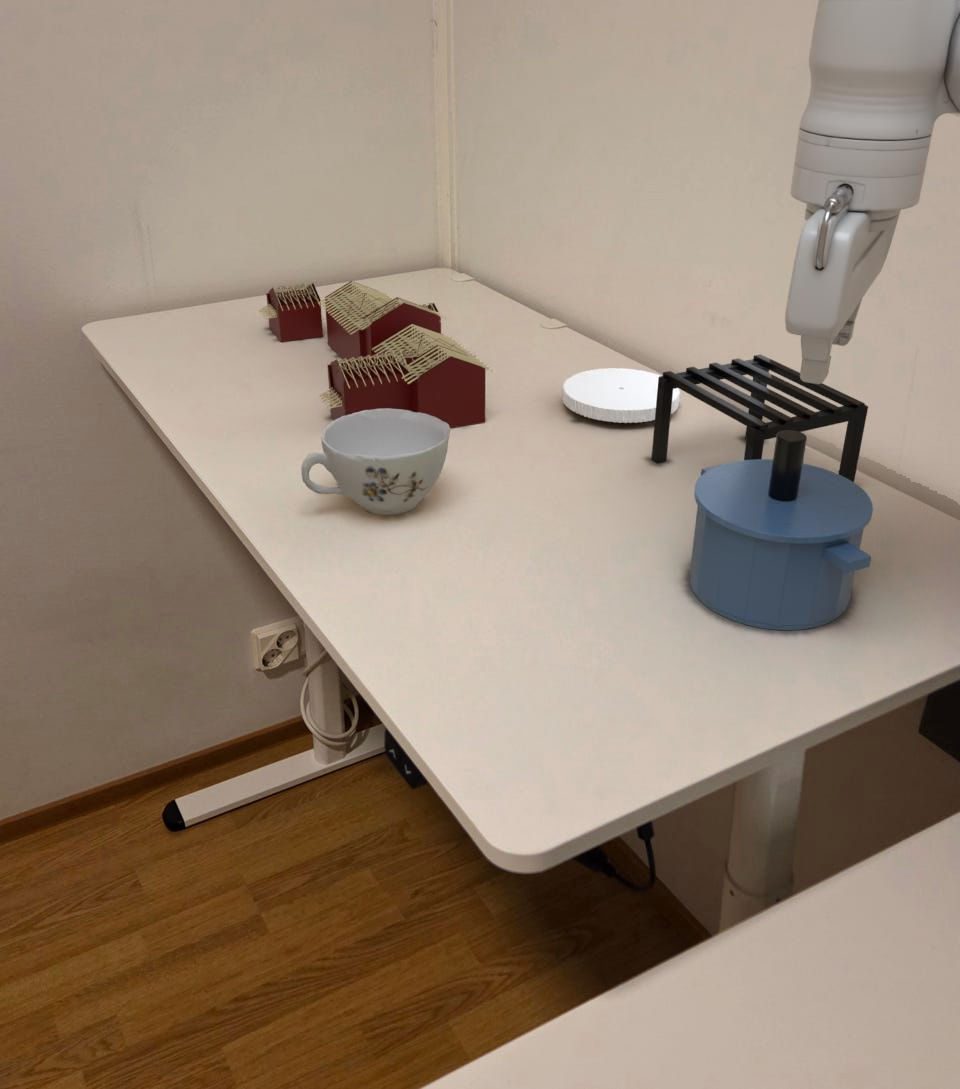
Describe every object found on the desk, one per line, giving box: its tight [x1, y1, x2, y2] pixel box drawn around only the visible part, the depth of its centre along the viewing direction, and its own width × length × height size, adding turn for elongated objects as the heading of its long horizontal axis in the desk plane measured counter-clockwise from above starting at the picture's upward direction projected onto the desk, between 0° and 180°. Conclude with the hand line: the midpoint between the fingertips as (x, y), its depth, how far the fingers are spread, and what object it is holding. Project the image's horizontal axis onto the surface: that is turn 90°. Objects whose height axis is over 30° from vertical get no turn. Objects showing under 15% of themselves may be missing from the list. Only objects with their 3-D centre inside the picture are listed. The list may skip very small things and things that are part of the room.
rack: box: [650, 353, 869, 483], centre depth 115 cm, size 14×16×10 cm
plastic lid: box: [561, 367, 681, 424], centre depth 133 cm, size 14×14×2 cm
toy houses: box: [258, 280, 494, 429], centre depth 142 cm, size 45×20×10 cm, turn 24°
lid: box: [693, 430, 874, 544], centre depth 92 cm, size 15×15×7 cm
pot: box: [689, 463, 873, 631], centre depth 95 cm, size 14×19×8 cm
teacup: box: [301, 408, 452, 516], centre depth 109 cm, size 15×12×8 cm
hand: (826, 360), depth 85 cm, fingers open, 8 cm apart
